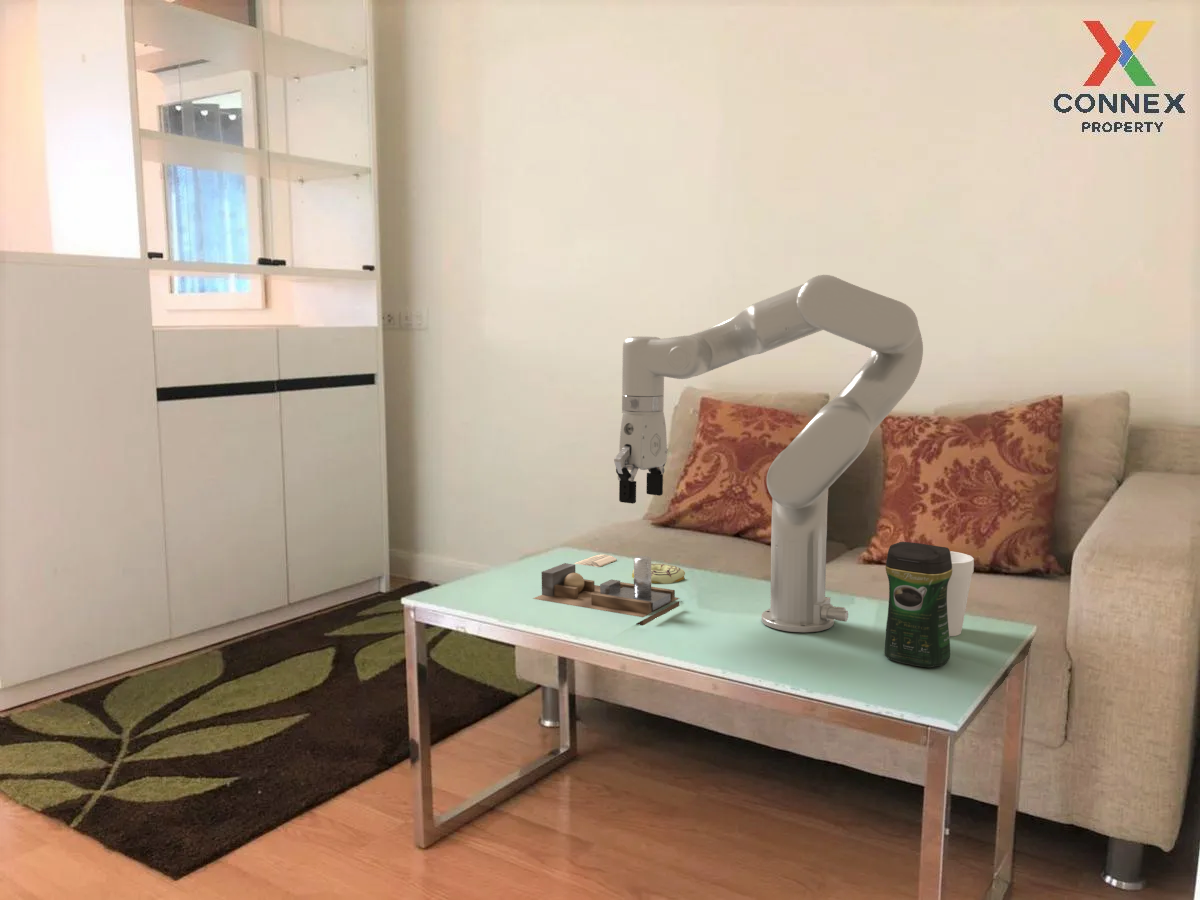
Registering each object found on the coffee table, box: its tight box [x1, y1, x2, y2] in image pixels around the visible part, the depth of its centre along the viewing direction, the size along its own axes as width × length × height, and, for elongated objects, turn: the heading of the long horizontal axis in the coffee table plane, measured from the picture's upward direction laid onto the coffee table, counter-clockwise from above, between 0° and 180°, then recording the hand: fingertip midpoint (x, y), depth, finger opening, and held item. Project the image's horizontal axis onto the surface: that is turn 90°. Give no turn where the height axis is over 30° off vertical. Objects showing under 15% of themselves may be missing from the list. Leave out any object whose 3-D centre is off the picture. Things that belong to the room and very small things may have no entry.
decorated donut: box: [631, 562, 686, 585], centre depth 200 cm, size 10×11×4 cm
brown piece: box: [532, 562, 680, 626], centre depth 185 cm, size 24×14×6 cm, turn 58°
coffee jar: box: [883, 541, 952, 668], centre depth 153 cm, size 10×8×19 cm
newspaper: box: [573, 554, 618, 568], centre depth 213 cm, size 24×7×2 cm, turn 146°
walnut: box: [564, 572, 585, 593], centre depth 189 cm, size 4×4×4 cm
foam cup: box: [947, 550, 975, 637], centre depth 167 cm, size 10×9×13 cm
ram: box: [599, 555, 672, 611], centre depth 181 cm, size 12×7×8 cm, turn 58°
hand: (641, 498), depth 179 cm, fingers open, 9 cm apart
